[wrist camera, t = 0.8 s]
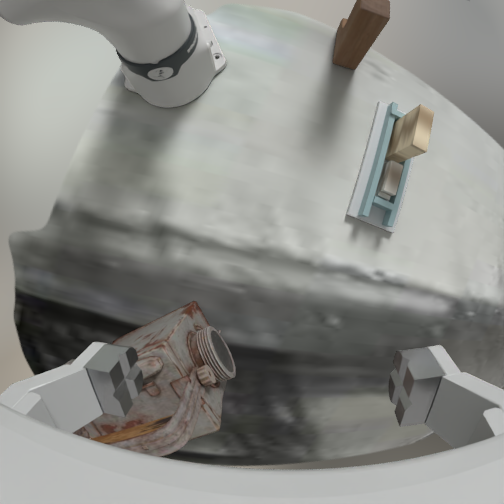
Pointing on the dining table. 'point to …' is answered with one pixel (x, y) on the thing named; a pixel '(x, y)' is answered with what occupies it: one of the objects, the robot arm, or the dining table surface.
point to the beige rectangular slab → (410, 135)
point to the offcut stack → (389, 180)
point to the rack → (363, 195)
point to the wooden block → (360, 31)
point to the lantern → (170, 385)
